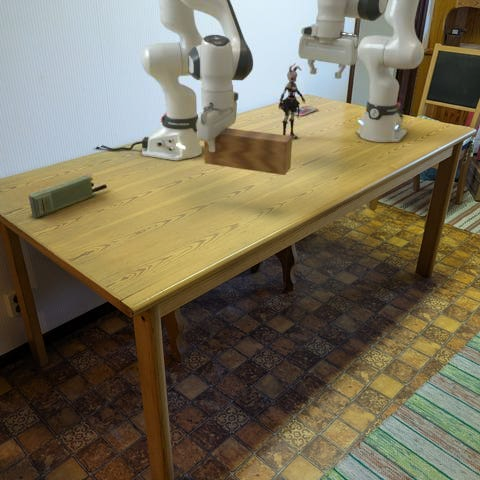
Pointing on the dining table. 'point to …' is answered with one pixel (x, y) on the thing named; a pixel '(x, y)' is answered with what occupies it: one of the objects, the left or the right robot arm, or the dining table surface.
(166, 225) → the dining table surface
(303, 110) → the smartphone
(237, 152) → the bar
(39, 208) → the handheld radio
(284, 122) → the figurine
